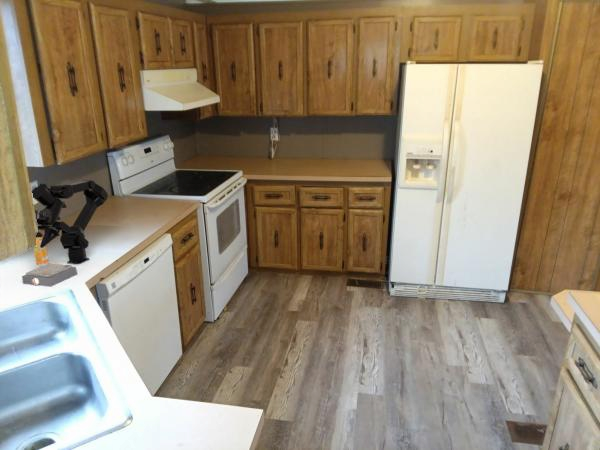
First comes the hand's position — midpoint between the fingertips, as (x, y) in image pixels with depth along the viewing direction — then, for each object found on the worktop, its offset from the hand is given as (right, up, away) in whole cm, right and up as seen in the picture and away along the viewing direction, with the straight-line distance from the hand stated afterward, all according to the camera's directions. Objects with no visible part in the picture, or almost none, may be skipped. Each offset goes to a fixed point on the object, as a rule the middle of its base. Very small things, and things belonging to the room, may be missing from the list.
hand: (36, 247), depth 168 cm
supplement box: (0, -6, +3) cm, 7 cm away
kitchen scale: (+3, -12, +5) cm, 14 cm away
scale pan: (+3, -9, +4) cm, 10 cm away
